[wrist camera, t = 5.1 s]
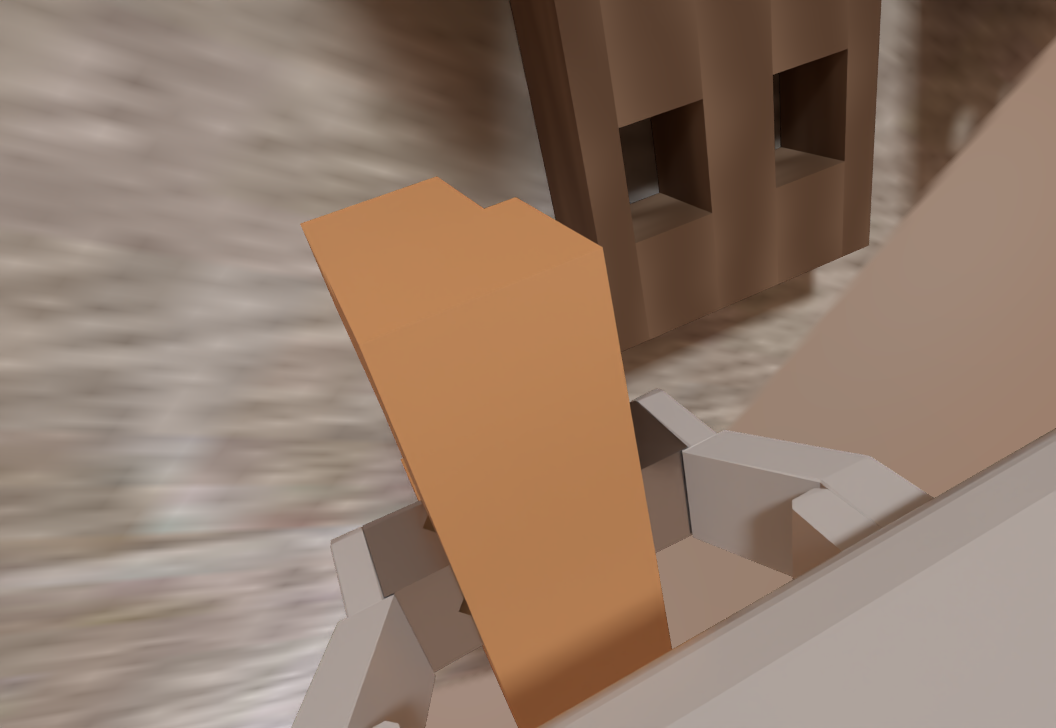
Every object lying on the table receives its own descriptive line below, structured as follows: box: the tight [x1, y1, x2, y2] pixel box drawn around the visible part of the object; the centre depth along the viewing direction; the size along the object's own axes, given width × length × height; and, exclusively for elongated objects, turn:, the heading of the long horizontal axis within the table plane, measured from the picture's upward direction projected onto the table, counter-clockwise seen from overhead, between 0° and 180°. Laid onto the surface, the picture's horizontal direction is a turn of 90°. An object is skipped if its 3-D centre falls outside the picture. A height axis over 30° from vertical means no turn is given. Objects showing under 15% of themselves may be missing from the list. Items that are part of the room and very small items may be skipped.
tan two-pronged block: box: [301, 177, 672, 728], centre depth 12 cm, size 9×3×7 cm, turn 14°
